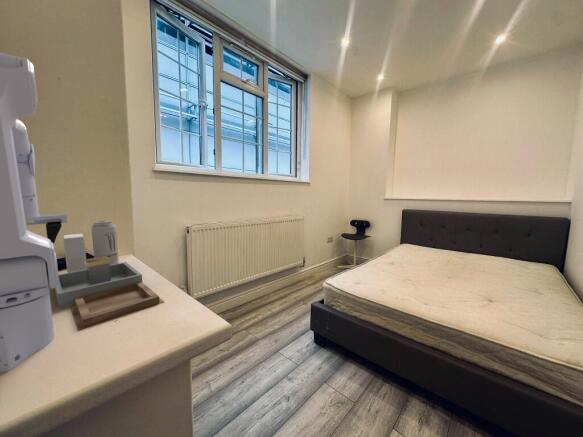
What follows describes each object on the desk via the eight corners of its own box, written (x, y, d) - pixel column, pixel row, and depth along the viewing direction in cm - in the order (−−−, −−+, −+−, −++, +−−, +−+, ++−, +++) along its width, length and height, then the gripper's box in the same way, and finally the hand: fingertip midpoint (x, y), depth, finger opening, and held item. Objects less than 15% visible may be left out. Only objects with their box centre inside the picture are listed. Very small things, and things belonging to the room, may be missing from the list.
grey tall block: (108, 282, 61) (106, 256, 60) (112, 286, 58) (110, 259, 57) (86, 287, 58) (83, 259, 57) (89, 292, 55) (86, 263, 54)
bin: (143, 290, 59) (141, 274, 58) (59, 312, 48) (57, 294, 47) (126, 275, 69) (125, 262, 68) (54, 291, 58) (52, 275, 57)
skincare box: (67, 275, 68) (62, 235, 67) (86, 271, 71) (82, 233, 70) (68, 281, 64) (63, 238, 63) (88, 277, 67) (84, 236, 66)
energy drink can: (109, 270, 72) (104, 222, 70) (90, 270, 72) (85, 222, 71) (123, 264, 78) (119, 220, 76) (105, 264, 78) (101, 220, 77)
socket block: (165, 306, 51) (164, 296, 50) (78, 335, 40) (77, 323, 40) (144, 288, 60) (143, 279, 60) (69, 308, 50) (68, 297, 49)
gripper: (62, 195, 58) (68, 248, 60) (-37, 196, 48) (-26, 261, 49) (65, 196, 54) (71, 253, 55) (-44, 197, 43) (-32, 268, 45)
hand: (25, 257), depth 52 cm, fingers open, 7 cm apart
